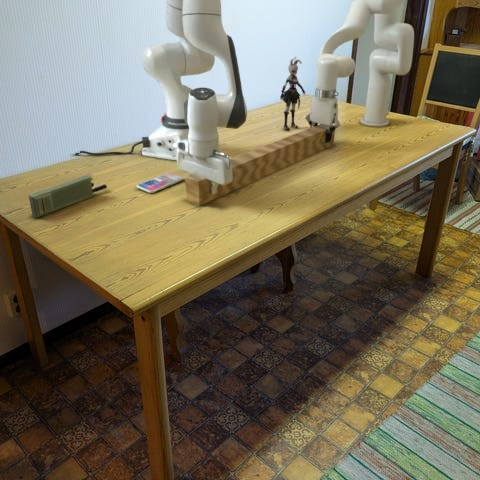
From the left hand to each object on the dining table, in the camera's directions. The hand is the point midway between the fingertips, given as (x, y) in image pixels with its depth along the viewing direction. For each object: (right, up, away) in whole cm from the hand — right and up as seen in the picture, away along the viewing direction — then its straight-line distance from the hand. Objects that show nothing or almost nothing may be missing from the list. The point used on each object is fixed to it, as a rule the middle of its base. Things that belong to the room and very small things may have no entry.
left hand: (204, 190), depth 154 cm
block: (+21, +10, +23) cm, 33 cm away
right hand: (+42, +24, +43) cm, 65 cm away
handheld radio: (-39, -4, -3) cm, 40 cm away
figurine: (+32, +33, +65) cm, 79 cm away
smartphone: (-15, +3, +10) cm, 18 cm away
